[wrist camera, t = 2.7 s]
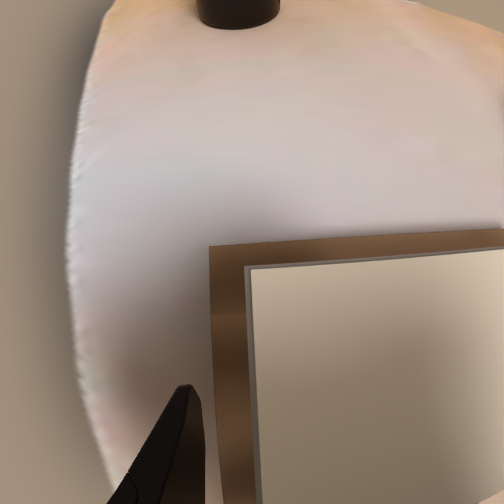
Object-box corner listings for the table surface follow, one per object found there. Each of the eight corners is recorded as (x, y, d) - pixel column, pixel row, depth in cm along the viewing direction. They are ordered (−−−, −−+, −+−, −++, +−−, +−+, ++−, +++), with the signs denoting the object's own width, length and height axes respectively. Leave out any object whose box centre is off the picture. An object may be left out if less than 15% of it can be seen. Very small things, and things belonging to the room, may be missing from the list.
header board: (515, 435, 13) (539, 443, 10) (233, 503, 14) (225, 529, 11) (508, 239, 17) (532, 226, 14) (219, 260, 19) (208, 245, 16)
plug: (350, 390, 16) (511, 487, 2) (270, 398, 16) (259, 559, 3) (346, 312, 17) (516, 242, 4) (266, 318, 17) (242, 262, 4)
